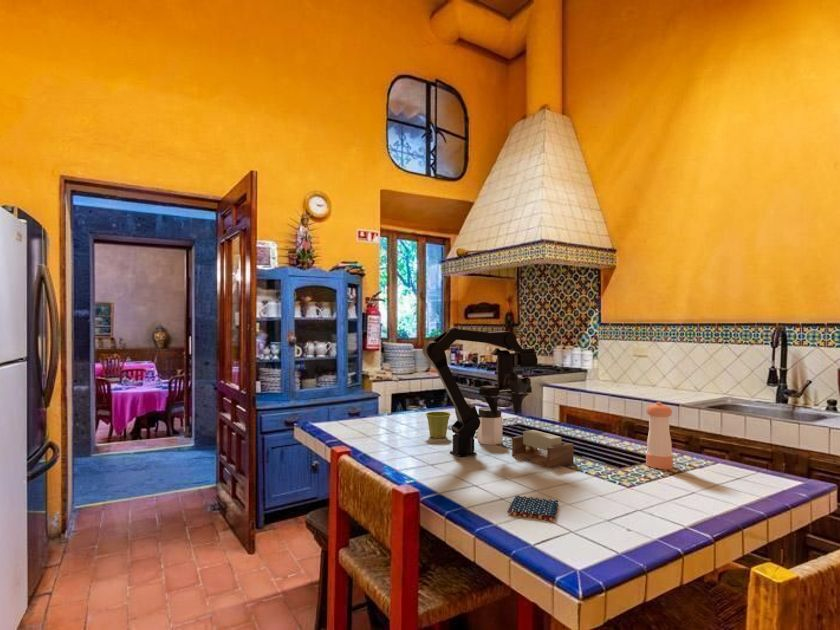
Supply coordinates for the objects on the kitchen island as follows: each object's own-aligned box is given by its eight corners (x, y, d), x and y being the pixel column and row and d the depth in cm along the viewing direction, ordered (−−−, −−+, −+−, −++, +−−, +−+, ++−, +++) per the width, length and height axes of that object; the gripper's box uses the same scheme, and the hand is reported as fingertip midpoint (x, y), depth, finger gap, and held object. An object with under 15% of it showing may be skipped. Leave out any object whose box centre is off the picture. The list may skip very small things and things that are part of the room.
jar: (505, 444, 177) (505, 410, 177) (483, 445, 175) (483, 411, 176) (496, 438, 186) (496, 406, 186) (475, 439, 184) (475, 407, 184)
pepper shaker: (676, 465, 151) (675, 402, 151) (668, 471, 146) (668, 404, 146) (650, 461, 156) (650, 399, 156) (642, 466, 151) (642, 402, 151)
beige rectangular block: (523, 443, 162) (523, 431, 162) (533, 442, 164) (533, 429, 164) (551, 452, 151) (551, 438, 152) (561, 450, 154) (561, 437, 154)
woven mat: (513, 502, 122) (513, 493, 122) (559, 507, 118) (559, 499, 118) (505, 517, 112) (505, 508, 112) (554, 524, 108) (554, 514, 108)
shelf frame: (573, 463, 153) (573, 443, 153) (550, 468, 148) (550, 448, 148) (534, 451, 167) (534, 433, 167) (512, 455, 162) (512, 437, 162)
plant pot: (451, 439, 185) (451, 416, 185) (425, 439, 185) (425, 415, 185) (450, 434, 194) (450, 411, 194) (425, 433, 194) (425, 411, 194)
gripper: (500, 372, 156) (500, 422, 156) (543, 369, 166) (543, 416, 166) (478, 369, 166) (478, 416, 165) (520, 366, 176) (520, 411, 175)
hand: (505, 415), depth 168 cm, fingers open, 9 cm apart
